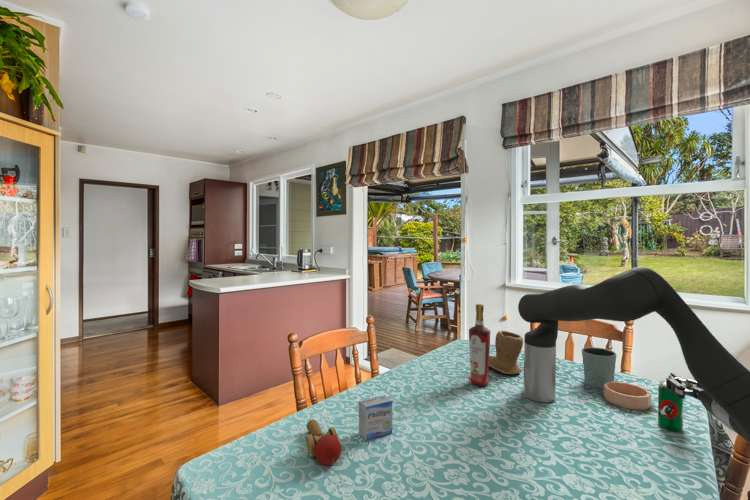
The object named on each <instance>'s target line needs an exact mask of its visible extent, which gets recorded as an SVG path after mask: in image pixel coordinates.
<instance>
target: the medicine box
mask: <svg viewBox="0 0 750 500" xmlns="http://www.w3.org/2000/svg"><path fill="white" fill-rule="evenodd" d="M392 433H393V400H392V399H390V398H389V397H388V396H386V395H381V396H376V397H372V398H368V399H364V400H363V399H362V400H360V401H358V434H359V435H360V436H361V438H363V439H364V441H366V442H368V441H371V440H370V439H372V440H375V439H378V438H381V437H385V436H387V435H391V434H392ZM384 435H385V436H384ZM380 436H381V437H380ZM377 437H378V438H377ZM374 438H375V439H374ZM367 440H368V441H367Z"/></svg>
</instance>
